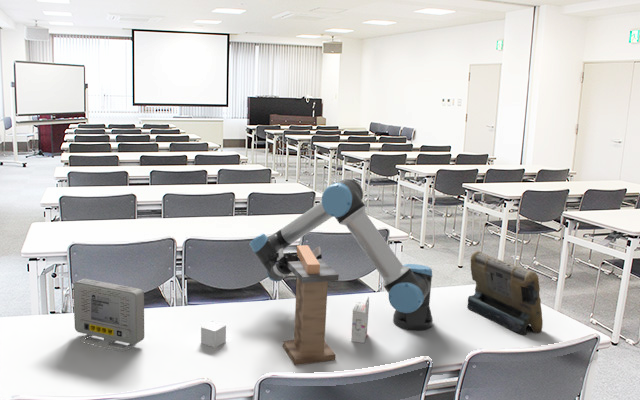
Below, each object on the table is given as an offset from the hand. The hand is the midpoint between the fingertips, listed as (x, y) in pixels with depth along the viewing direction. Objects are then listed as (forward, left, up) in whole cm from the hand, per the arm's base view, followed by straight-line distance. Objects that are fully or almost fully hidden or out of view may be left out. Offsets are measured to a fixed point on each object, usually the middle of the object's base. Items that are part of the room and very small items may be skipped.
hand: (301, 251), depth 196 cm
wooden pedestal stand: (-4, +11, -32) cm, 34 cm away
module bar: (-2, +6, -2) cm, 7 cm away
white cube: (+29, +6, -33) cm, 44 cm away
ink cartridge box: (-22, -3, -33) cm, 40 cm away
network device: (+64, +9, -33) cm, 72 cm away
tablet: (-82, -27, -33) cm, 92 cm away
